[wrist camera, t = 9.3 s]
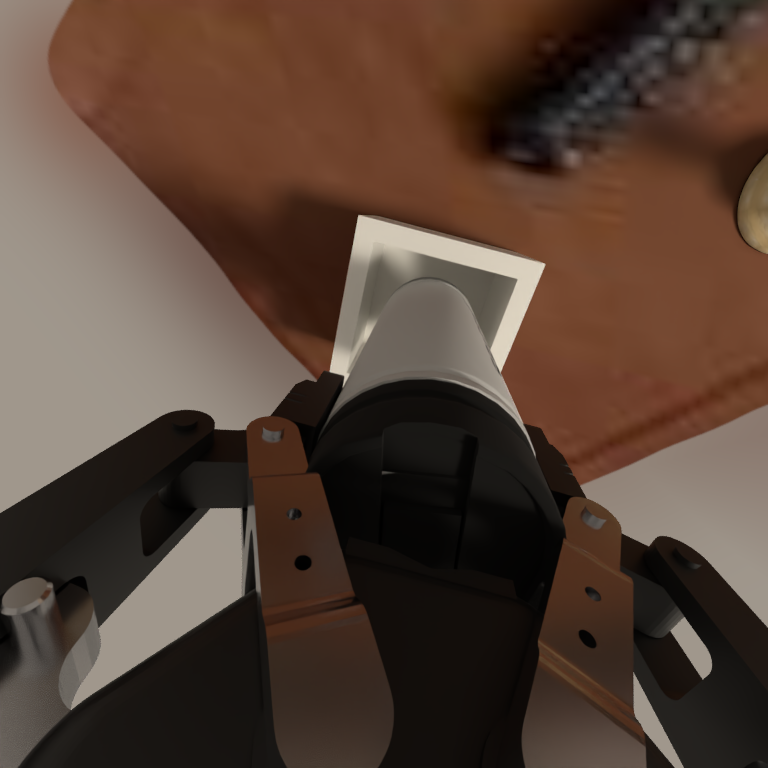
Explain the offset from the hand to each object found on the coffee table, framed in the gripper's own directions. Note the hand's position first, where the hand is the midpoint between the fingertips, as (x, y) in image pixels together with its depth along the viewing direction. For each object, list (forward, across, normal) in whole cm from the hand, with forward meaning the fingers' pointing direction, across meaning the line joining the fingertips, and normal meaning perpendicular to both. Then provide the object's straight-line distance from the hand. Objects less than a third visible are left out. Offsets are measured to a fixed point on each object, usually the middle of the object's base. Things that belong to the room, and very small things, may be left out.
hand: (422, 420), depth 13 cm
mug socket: (+20, 0, 0) cm, 20 cm away
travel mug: (+14, 0, 0) cm, 14 cm away
